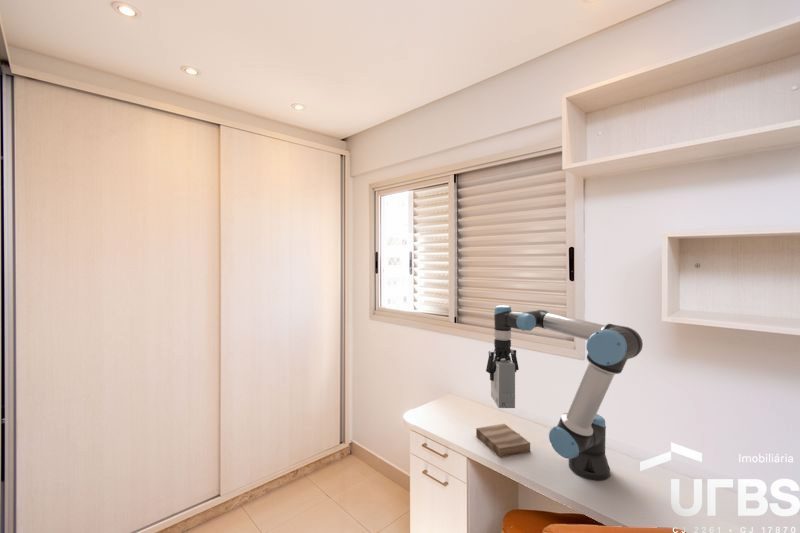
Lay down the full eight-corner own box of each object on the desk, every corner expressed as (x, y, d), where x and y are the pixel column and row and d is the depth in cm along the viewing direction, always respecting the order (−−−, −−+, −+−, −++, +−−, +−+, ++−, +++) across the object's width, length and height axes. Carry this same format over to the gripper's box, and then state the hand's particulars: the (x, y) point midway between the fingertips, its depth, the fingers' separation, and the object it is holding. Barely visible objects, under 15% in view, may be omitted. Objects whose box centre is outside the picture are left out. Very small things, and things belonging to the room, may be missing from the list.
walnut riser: (530, 451, 160) (530, 442, 160) (499, 457, 155) (499, 448, 155) (504, 431, 179) (504, 423, 179) (476, 436, 174) (476, 428, 174)
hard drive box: (515, 408, 159) (515, 364, 159) (498, 408, 159) (498, 364, 159) (505, 395, 174) (505, 355, 174) (490, 395, 175) (490, 355, 174)
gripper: (517, 335, 173) (517, 381, 174) (478, 338, 167) (478, 386, 167) (527, 338, 166) (526, 386, 166) (486, 341, 160) (486, 391, 160)
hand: (502, 386), depth 167 cm, fingers closed on hard drive box, 9 cm apart
